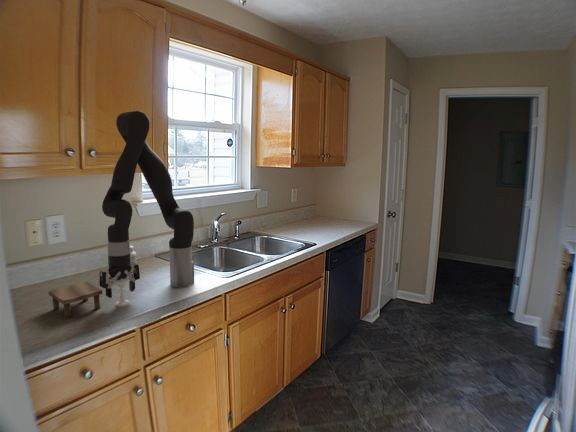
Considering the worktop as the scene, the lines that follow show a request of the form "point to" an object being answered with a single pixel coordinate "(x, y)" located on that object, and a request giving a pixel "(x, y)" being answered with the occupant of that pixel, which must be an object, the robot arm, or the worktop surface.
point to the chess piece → (122, 296)
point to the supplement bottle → (132, 258)
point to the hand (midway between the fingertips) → (120, 294)
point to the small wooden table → (75, 296)
